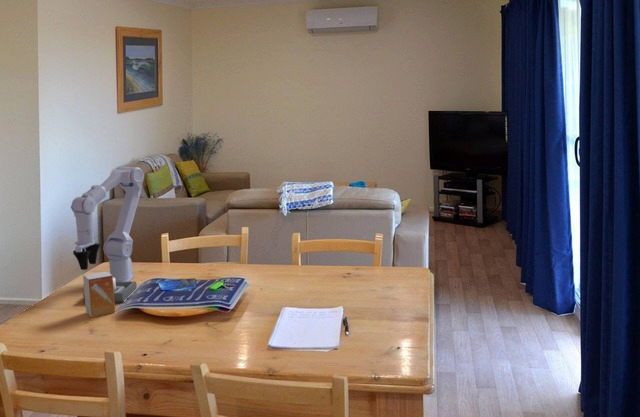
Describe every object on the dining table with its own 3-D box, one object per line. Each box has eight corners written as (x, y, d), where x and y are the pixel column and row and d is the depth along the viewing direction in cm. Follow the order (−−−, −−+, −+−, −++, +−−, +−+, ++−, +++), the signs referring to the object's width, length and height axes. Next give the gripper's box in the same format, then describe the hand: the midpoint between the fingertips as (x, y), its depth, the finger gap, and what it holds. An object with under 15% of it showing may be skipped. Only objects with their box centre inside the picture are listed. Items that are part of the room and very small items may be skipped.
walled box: (99, 290, 265) (98, 281, 264) (136, 290, 263) (136, 281, 263) (84, 302, 251) (83, 293, 250) (123, 303, 250) (122, 293, 249)
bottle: (107, 293, 259) (105, 273, 258) (118, 293, 259) (116, 273, 257) (103, 296, 255) (101, 276, 254) (114, 296, 255) (112, 276, 253)
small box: (91, 317, 235) (88, 279, 233) (85, 312, 241) (82, 275, 238) (116, 312, 240) (112, 274, 237) (109, 307, 245) (106, 270, 243)
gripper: (82, 225, 267) (86, 261, 270) (65, 234, 253) (69, 272, 255) (101, 225, 266) (104, 261, 269) (85, 234, 252) (88, 272, 255)
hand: (88, 266), depth 262 cm, fingers open, 7 cm apart
